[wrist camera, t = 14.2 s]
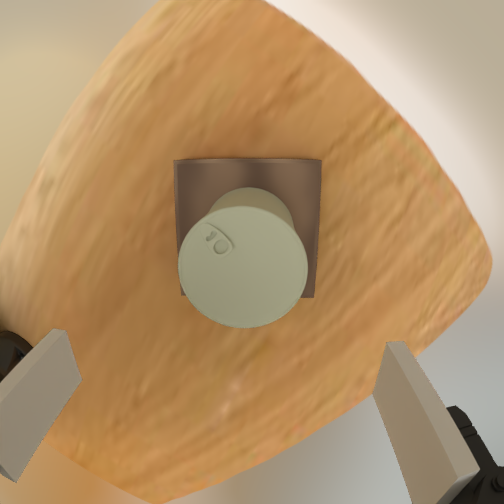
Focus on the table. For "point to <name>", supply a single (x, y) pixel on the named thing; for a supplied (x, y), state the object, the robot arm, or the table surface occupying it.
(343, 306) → the table surface
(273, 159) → the brown flat square block
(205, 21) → the table surface
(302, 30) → the table surface
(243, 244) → the can
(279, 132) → the table surface
